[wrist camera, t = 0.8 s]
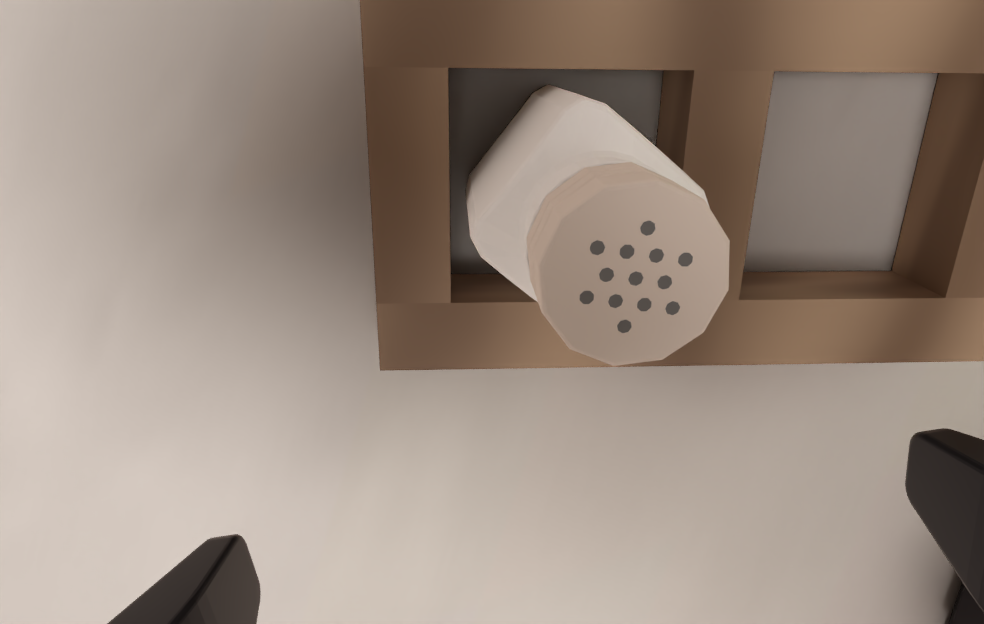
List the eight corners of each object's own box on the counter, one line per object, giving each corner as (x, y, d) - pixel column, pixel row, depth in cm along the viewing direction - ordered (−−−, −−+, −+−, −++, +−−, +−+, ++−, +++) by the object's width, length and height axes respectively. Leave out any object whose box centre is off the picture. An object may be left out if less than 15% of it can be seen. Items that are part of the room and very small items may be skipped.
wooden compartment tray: (1027, -6, 19) (1109, -14, 16) (935, 328, 22) (992, 360, 20) (370, -18, 18) (358, -28, 15) (387, 335, 21) (380, 370, 19)
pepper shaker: (456, 187, 20) (461, 300, 11) (544, 73, 19) (630, 95, 10) (559, 267, 21) (641, 429, 12) (647, 164, 20) (809, 256, 11)
